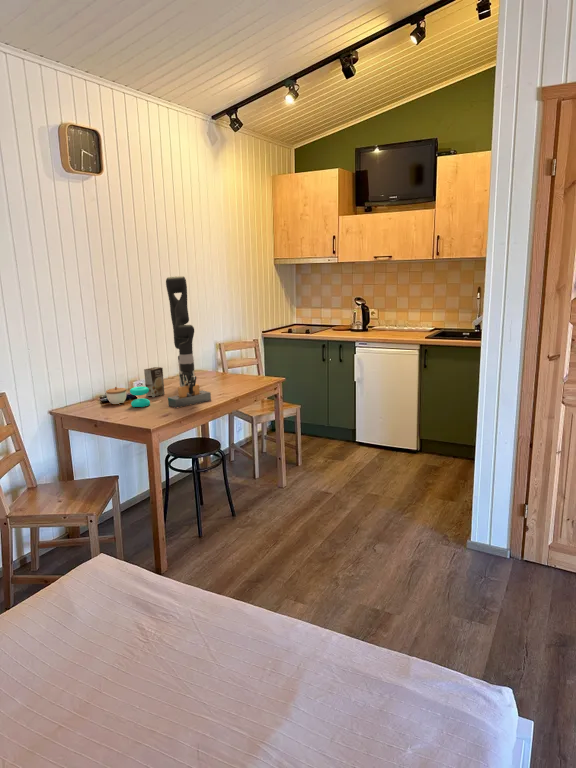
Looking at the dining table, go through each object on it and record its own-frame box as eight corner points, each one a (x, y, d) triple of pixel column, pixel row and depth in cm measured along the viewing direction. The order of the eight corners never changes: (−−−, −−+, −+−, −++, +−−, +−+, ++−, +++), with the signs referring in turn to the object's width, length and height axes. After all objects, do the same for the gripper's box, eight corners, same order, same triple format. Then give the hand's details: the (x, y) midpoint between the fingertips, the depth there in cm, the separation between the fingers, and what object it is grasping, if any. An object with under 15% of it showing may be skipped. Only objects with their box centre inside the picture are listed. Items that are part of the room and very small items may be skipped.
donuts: (134, 390, 283) (126, 388, 291) (136, 409, 285) (128, 406, 293) (152, 387, 290) (143, 385, 297) (153, 405, 292) (144, 402, 299)
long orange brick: (179, 400, 291) (177, 387, 290) (196, 397, 298) (195, 383, 297) (182, 401, 289) (181, 388, 287) (199, 398, 296) (198, 384, 294)
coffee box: (154, 397, 311) (151, 370, 308) (146, 396, 314) (143, 369, 311) (165, 394, 319) (162, 367, 315) (156, 393, 322) (154, 366, 318)
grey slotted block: (168, 405, 290) (167, 397, 289) (203, 398, 304) (202, 390, 303) (176, 408, 284) (175, 399, 283) (211, 400, 298) (210, 392, 297)
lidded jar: (111, 401, 305) (109, 385, 303) (129, 400, 305) (128, 384, 303) (104, 406, 295) (102, 389, 293) (124, 405, 295) (122, 388, 293)
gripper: (173, 361, 292) (176, 392, 296) (187, 364, 282) (190, 396, 285) (185, 359, 297) (188, 390, 301) (199, 362, 287) (202, 393, 290)
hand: (189, 393), depth 293 cm, fingers closed on long orange brick, 3 cm apart
